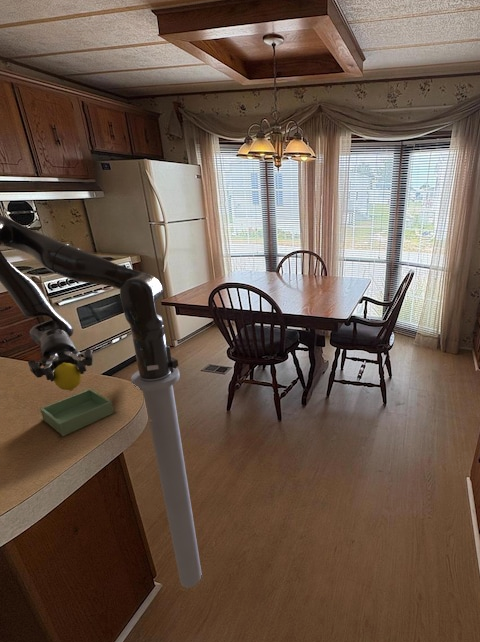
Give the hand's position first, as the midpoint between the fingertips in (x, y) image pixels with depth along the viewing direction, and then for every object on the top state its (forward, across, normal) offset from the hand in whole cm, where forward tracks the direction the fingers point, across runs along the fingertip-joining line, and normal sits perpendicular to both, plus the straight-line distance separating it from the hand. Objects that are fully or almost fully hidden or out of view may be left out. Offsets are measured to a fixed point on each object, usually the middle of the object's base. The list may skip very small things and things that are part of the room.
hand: (67, 374), depth 84 cm
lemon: (-3, 0, +6) cm, 7 cm away
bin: (-2, 0, +14) cm, 14 cm away
